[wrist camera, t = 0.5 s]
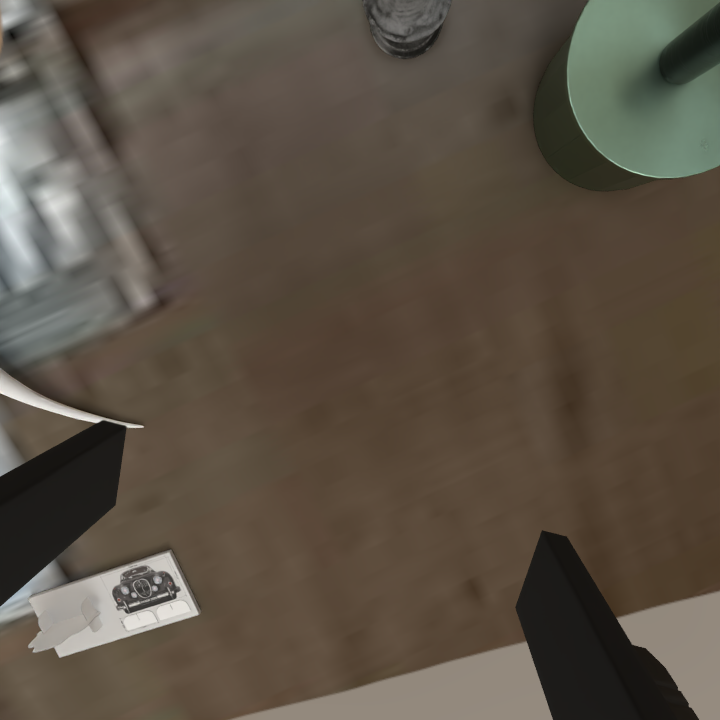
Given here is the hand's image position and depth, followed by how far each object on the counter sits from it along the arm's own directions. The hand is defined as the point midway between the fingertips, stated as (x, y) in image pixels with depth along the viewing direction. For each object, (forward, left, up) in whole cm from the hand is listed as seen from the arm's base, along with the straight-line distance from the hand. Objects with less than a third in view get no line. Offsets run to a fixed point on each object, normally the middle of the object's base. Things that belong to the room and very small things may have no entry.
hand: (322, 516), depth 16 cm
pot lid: (-22, +13, -18) cm, 31 cm away
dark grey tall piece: (-25, -3, -26) cm, 36 cm away
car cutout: (+28, -18, -26) cm, 42 cm away
